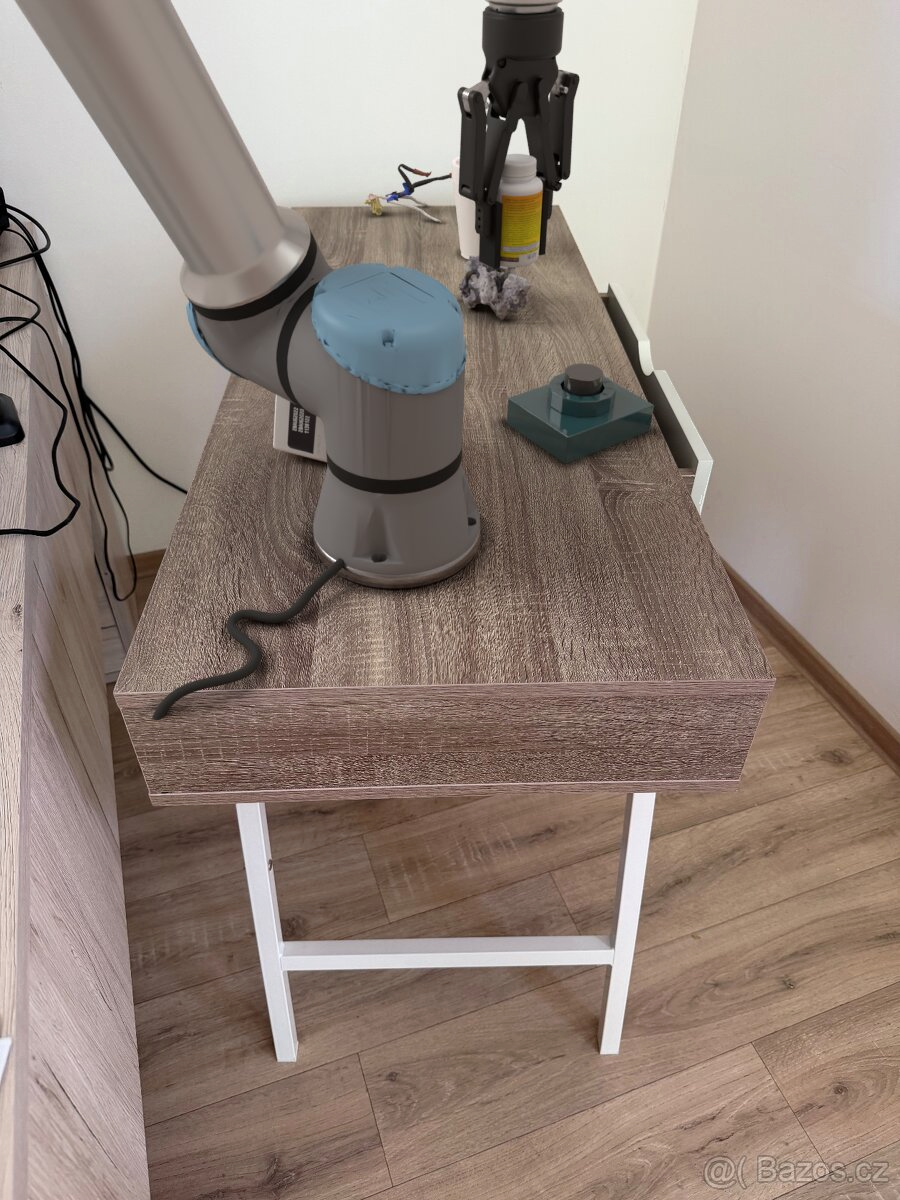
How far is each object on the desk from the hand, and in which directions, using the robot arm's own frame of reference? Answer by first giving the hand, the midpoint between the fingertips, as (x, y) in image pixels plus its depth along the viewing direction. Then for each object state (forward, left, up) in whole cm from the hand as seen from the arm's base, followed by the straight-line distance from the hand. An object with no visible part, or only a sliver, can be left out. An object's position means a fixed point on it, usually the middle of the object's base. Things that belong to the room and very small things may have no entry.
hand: (512, 257), depth 99 cm
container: (-26, -1, -14) cm, 29 cm away
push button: (0, -14, -10) cm, 17 cm away
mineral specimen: (+11, +17, -15) cm, 25 cm away
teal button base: (0, -13, -14) cm, 20 cm away
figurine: (+23, +56, -15) cm, 63 cm away
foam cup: (+22, +34, -15) cm, 43 cm away
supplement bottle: (0, 0, 0) cm, 0 cm away
